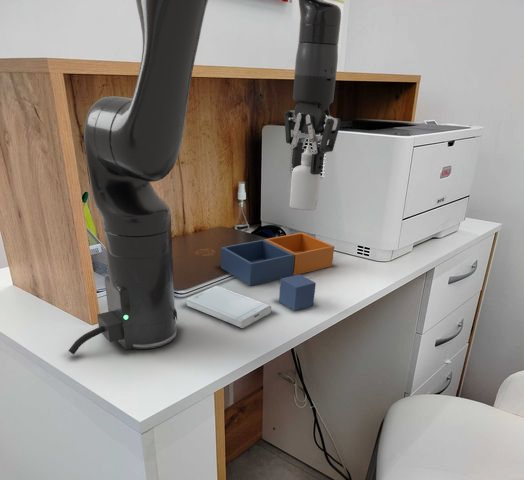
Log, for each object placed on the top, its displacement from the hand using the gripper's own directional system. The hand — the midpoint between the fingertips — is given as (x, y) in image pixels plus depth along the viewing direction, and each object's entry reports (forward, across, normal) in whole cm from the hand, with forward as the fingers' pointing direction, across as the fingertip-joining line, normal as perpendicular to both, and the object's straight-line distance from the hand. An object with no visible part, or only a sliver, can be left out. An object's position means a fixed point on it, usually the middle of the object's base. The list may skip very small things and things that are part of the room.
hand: (306, 170), depth 98 cm
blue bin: (+19, 0, -11) cm, 22 cm away
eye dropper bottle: (+8, 0, 0) cm, 8 cm away
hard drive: (+20, +12, -25) cm, 34 cm away
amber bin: (+19, 0, 0) cm, 19 cm away
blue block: (+19, +16, -13) cm, 28 cm away
